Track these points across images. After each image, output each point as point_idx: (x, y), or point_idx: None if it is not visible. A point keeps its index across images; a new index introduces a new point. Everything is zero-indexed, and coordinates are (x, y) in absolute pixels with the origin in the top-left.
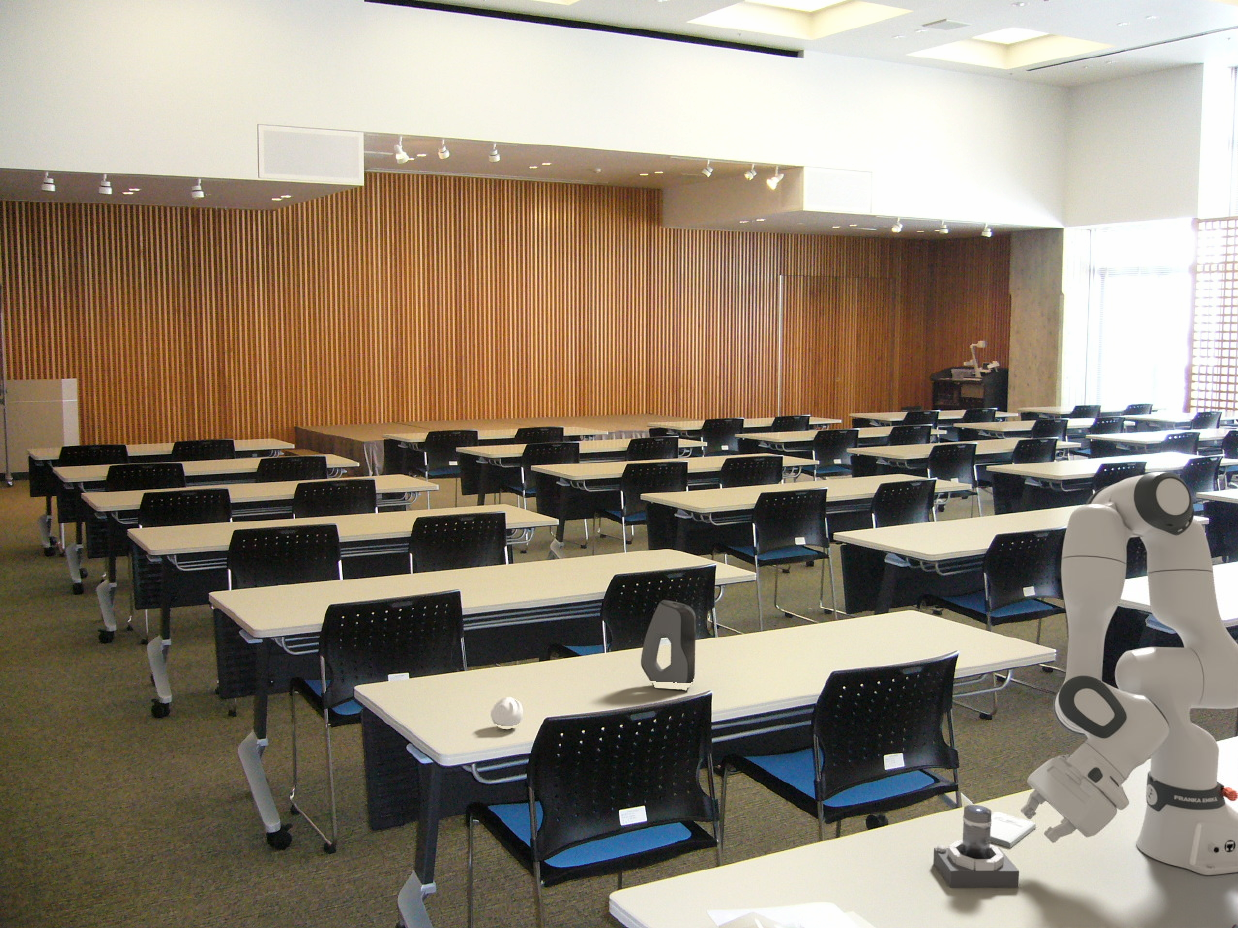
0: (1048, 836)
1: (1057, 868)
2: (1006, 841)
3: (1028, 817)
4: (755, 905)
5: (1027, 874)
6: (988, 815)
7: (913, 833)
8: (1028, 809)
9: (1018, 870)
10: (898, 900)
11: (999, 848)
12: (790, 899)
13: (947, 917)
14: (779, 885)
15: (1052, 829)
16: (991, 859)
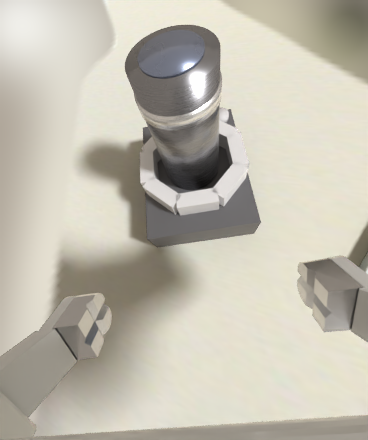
0: (65, 299)
1: (259, 368)
2: (365, 270)
3: (298, 286)
4: (112, 5)
5: (213, 280)
6: (131, 83)
7: (349, 110)
8: (317, 282)
9: (149, 238)
10: (117, 95)
11: (256, 222)
12: (121, 21)
13: (76, 139)
14: (148, 10)
15: (53, 324)
16: (153, 180)
